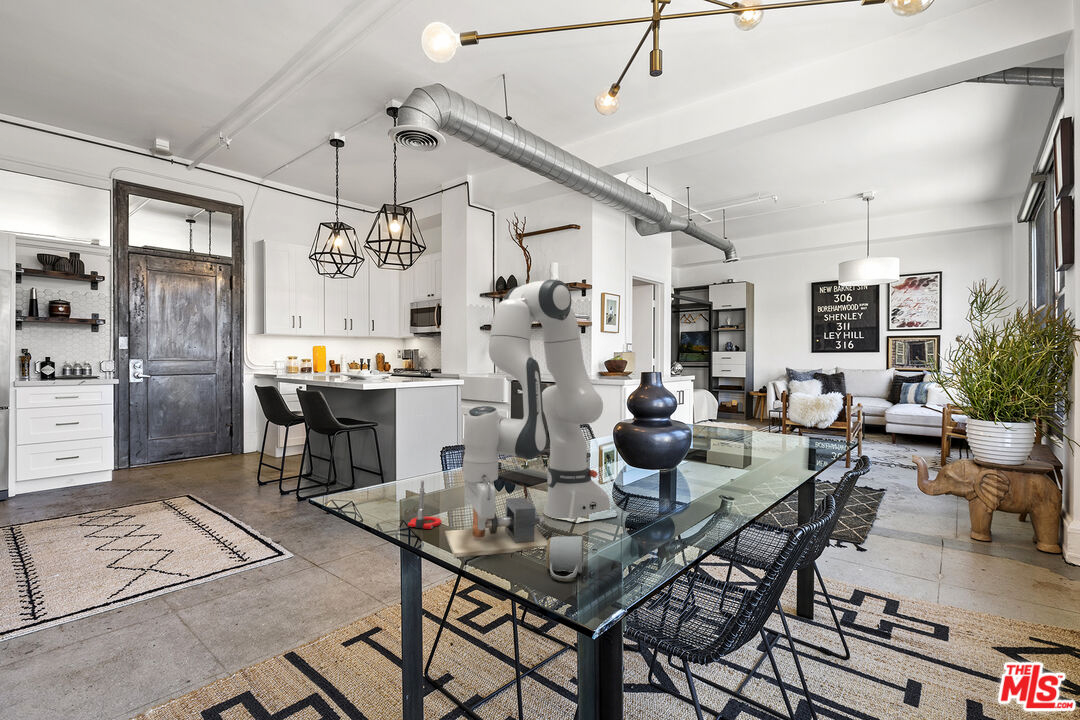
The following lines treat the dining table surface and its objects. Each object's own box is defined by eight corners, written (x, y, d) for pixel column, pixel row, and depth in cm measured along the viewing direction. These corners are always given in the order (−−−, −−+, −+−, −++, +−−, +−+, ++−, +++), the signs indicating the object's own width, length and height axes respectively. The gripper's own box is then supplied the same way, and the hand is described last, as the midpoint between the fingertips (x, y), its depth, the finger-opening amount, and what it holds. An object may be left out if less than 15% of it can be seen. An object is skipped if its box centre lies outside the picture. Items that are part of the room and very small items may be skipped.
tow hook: (417, 519, 153) (404, 528, 143) (419, 474, 153) (406, 480, 144) (445, 522, 151) (433, 530, 142) (447, 476, 152) (436, 482, 143)
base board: (532, 528, 147) (532, 524, 147) (551, 548, 131) (551, 544, 131) (444, 534, 139) (444, 530, 139) (454, 557, 124) (454, 553, 124)
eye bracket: (523, 528, 143) (524, 497, 143) (534, 541, 133) (535, 508, 133) (504, 530, 141) (505, 498, 141) (514, 543, 132) (516, 509, 131)
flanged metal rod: (539, 526, 142) (540, 500, 142) (546, 533, 136) (546, 506, 136) (470, 532, 136) (471, 504, 136) (474, 539, 131) (475, 511, 131)
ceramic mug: (548, 562, 123) (549, 529, 123) (583, 564, 122) (584, 531, 122) (543, 582, 112) (544, 546, 112) (582, 585, 111) (583, 549, 111)
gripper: (502, 480, 125) (501, 539, 125) (484, 462, 144) (482, 513, 144) (476, 482, 123) (474, 541, 123) (461, 463, 142) (459, 515, 142)
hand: (479, 526), depth 134 cm, fingers closed on flanged metal rod, 3 cm apart
